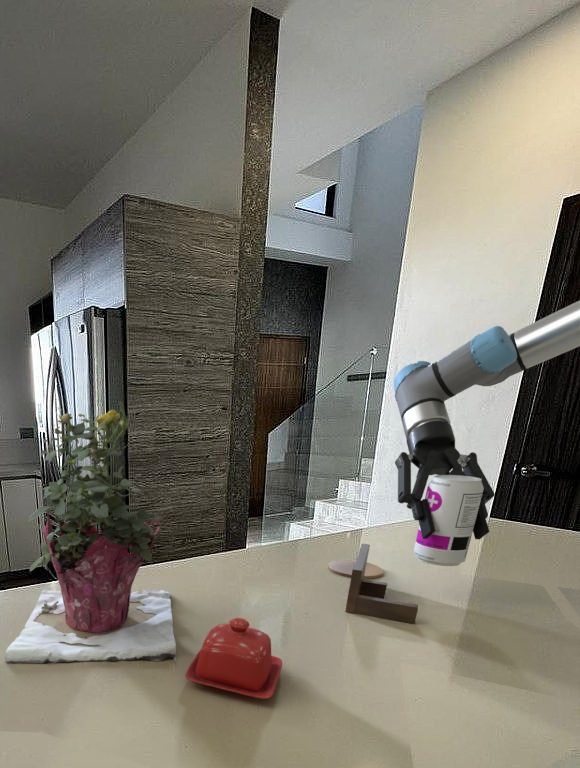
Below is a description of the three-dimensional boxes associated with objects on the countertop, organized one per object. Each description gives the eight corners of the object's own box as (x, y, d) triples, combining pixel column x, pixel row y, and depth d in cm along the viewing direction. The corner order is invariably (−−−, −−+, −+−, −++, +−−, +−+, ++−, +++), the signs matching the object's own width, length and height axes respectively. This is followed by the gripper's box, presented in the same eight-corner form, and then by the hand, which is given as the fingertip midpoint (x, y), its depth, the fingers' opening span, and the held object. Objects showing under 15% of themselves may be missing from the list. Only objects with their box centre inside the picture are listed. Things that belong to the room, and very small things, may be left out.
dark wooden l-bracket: (414, 589, 95) (423, 550, 92) (414, 624, 80) (424, 579, 77) (355, 580, 100) (361, 543, 97) (345, 611, 85) (352, 569, 82)
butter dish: (284, 665, 68) (291, 610, 65) (270, 709, 58) (277, 647, 55) (205, 648, 72) (208, 597, 69) (180, 687, 63) (182, 629, 60)
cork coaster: (383, 566, 108) (384, 564, 107) (381, 582, 99) (381, 579, 98) (331, 559, 113) (332, 557, 112) (324, 573, 104) (324, 570, 103)
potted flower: (43, 593, 93) (29, 401, 81) (169, 594, 93) (174, 401, 80) (4, 662, 69) (-25, 402, 56) (176, 665, 68) (186, 401, 55)
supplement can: (418, 565, 86) (437, 480, 80) (408, 552, 93) (424, 473, 88) (471, 569, 83) (494, 482, 78) (455, 555, 91) (476, 475, 85)
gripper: (473, 445, 95) (504, 546, 86) (364, 445, 96) (383, 544, 87) (497, 418, 88) (534, 524, 79) (380, 418, 89) (403, 523, 80)
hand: (455, 535), depth 83 cm, fingers closed on supplement can, 8 cm apart
